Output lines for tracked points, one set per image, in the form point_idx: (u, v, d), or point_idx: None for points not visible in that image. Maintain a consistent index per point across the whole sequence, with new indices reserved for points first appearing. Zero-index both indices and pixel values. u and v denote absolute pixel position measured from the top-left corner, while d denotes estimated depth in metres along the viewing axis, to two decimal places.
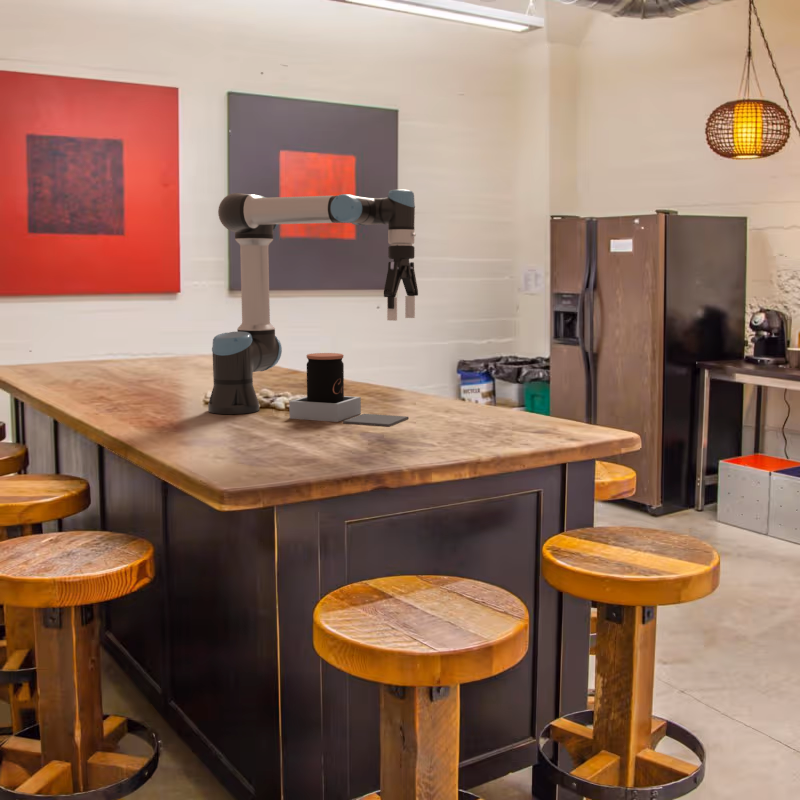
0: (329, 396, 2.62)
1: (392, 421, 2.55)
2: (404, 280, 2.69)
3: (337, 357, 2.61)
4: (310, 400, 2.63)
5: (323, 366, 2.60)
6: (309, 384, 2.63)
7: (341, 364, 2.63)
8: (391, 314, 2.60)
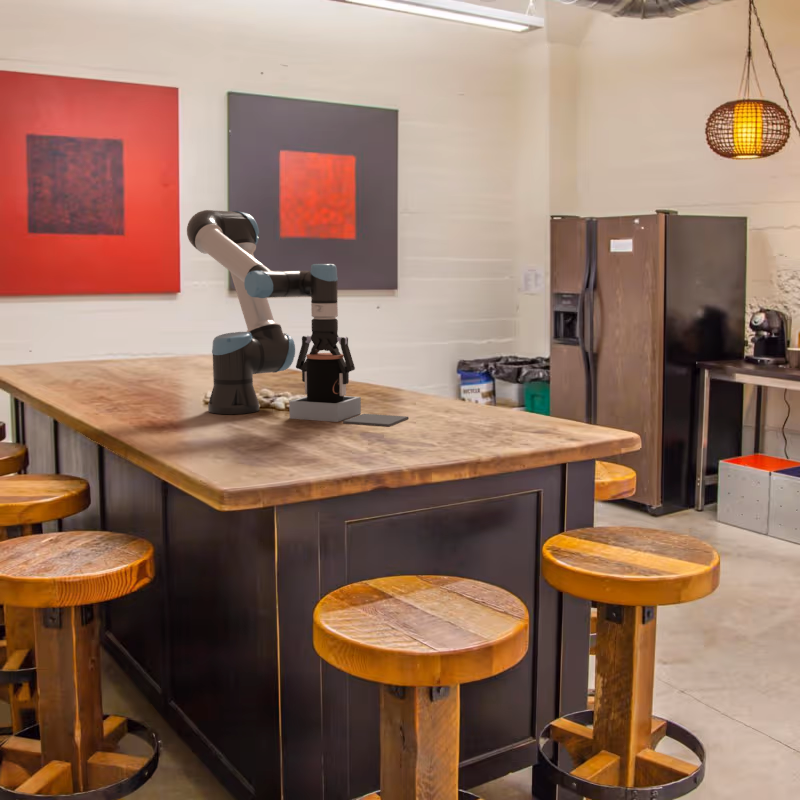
0: (329, 396, 2.62)
1: (392, 421, 2.55)
2: None
3: (337, 357, 2.61)
4: (310, 400, 2.63)
5: (323, 366, 2.60)
6: (309, 384, 2.63)
7: None
8: None
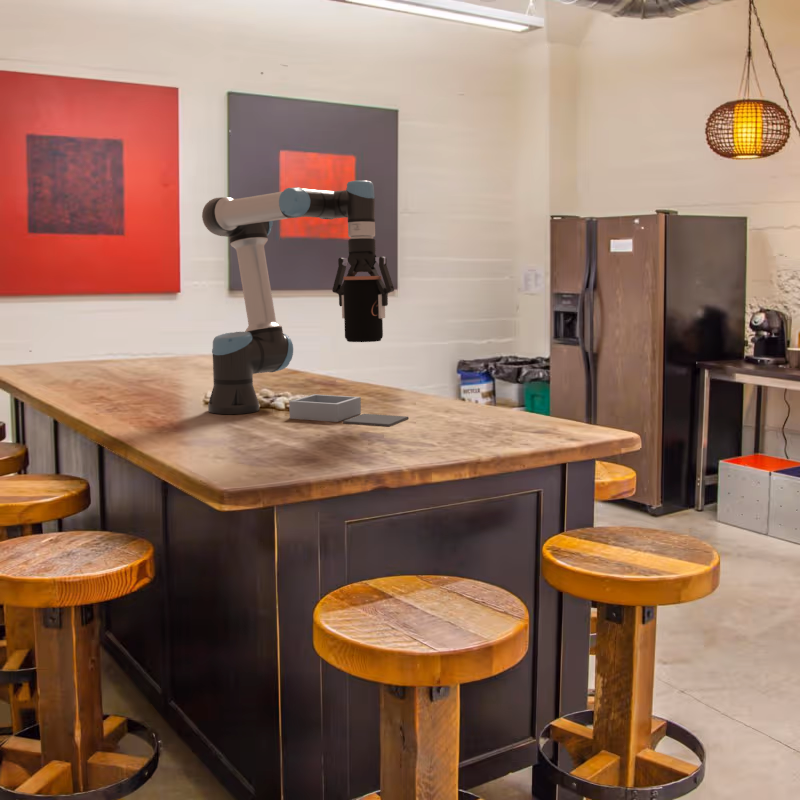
0: (368, 318, 2.52)
1: (392, 421, 2.55)
2: None
3: (375, 277, 2.52)
4: (348, 323, 2.54)
5: (361, 286, 2.50)
6: (347, 306, 2.53)
7: None
8: None
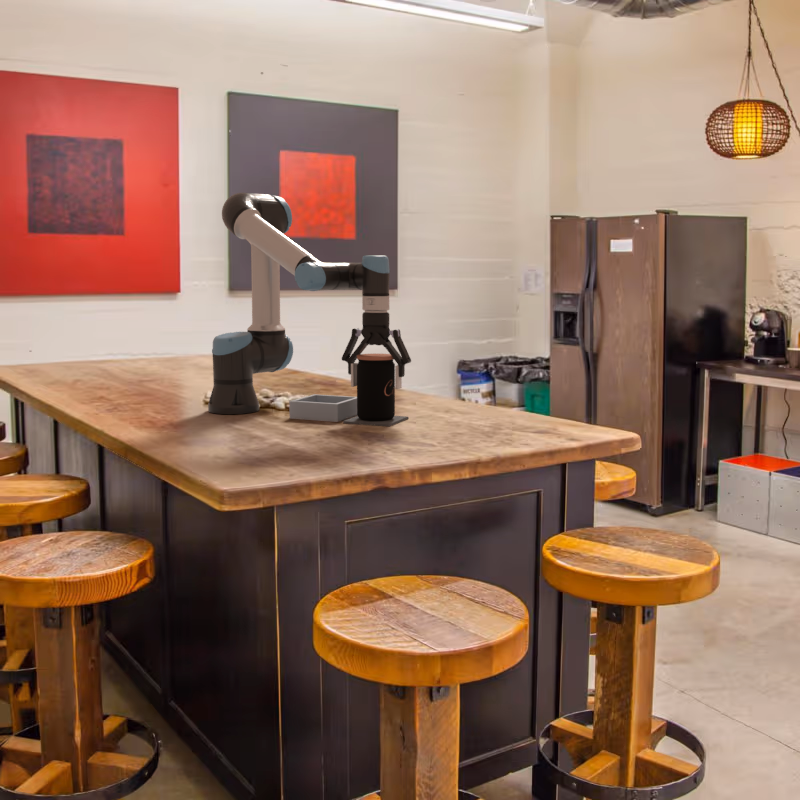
0: (381, 398, 2.53)
1: (392, 421, 2.55)
2: None
3: (389, 358, 2.53)
4: (361, 402, 2.55)
5: (375, 367, 2.52)
6: (360, 386, 2.55)
7: (393, 365, 2.55)
8: None
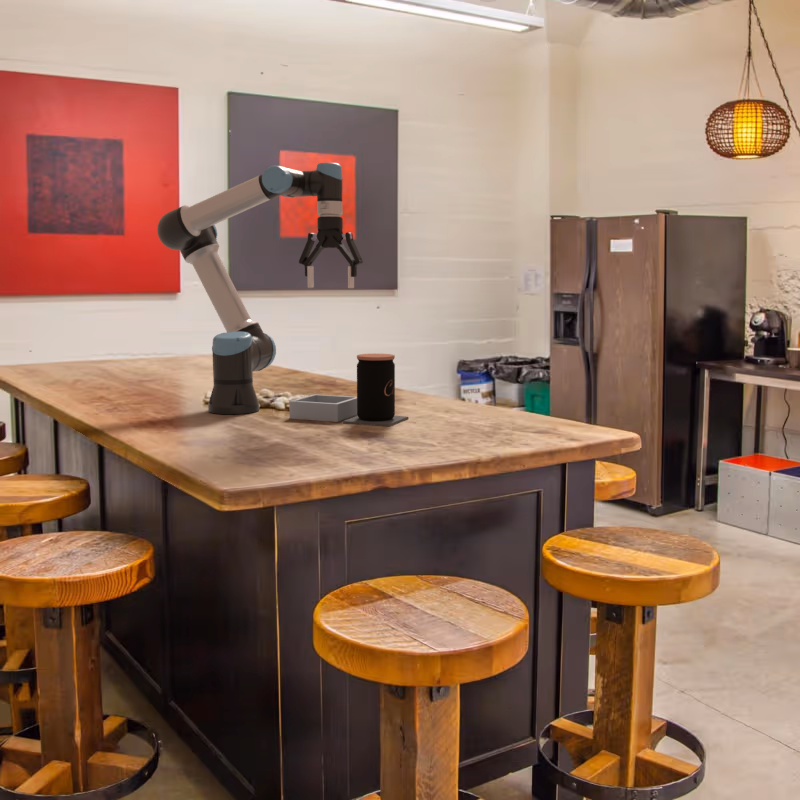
0: (381, 398, 2.53)
1: (392, 421, 2.55)
2: None
3: (389, 358, 2.53)
4: (361, 402, 2.55)
5: (375, 367, 2.52)
6: (360, 386, 2.55)
7: (393, 365, 2.55)
8: None
